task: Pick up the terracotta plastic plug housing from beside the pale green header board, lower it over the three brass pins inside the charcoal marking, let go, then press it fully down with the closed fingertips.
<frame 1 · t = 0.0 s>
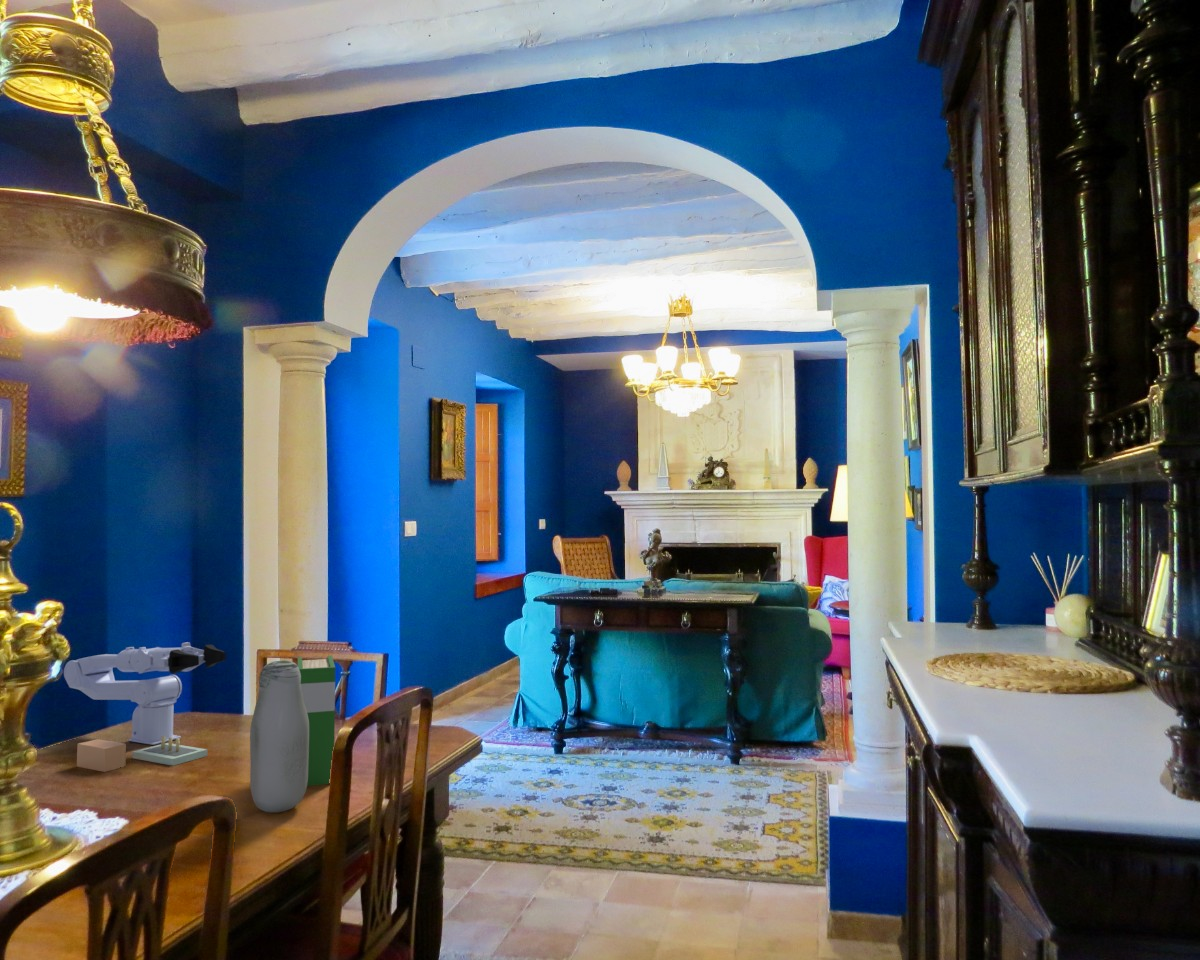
hand: (211, 658, 207), 22 cm above the table, tool horizontal, fingers open, 7 cm apart
header board: (170, 757, 198), on the table
plug housing: (101, 766, 191), on the table
gray bottle: (278, 811, 161), on the table
hardback book: (314, 774, 185), on the table
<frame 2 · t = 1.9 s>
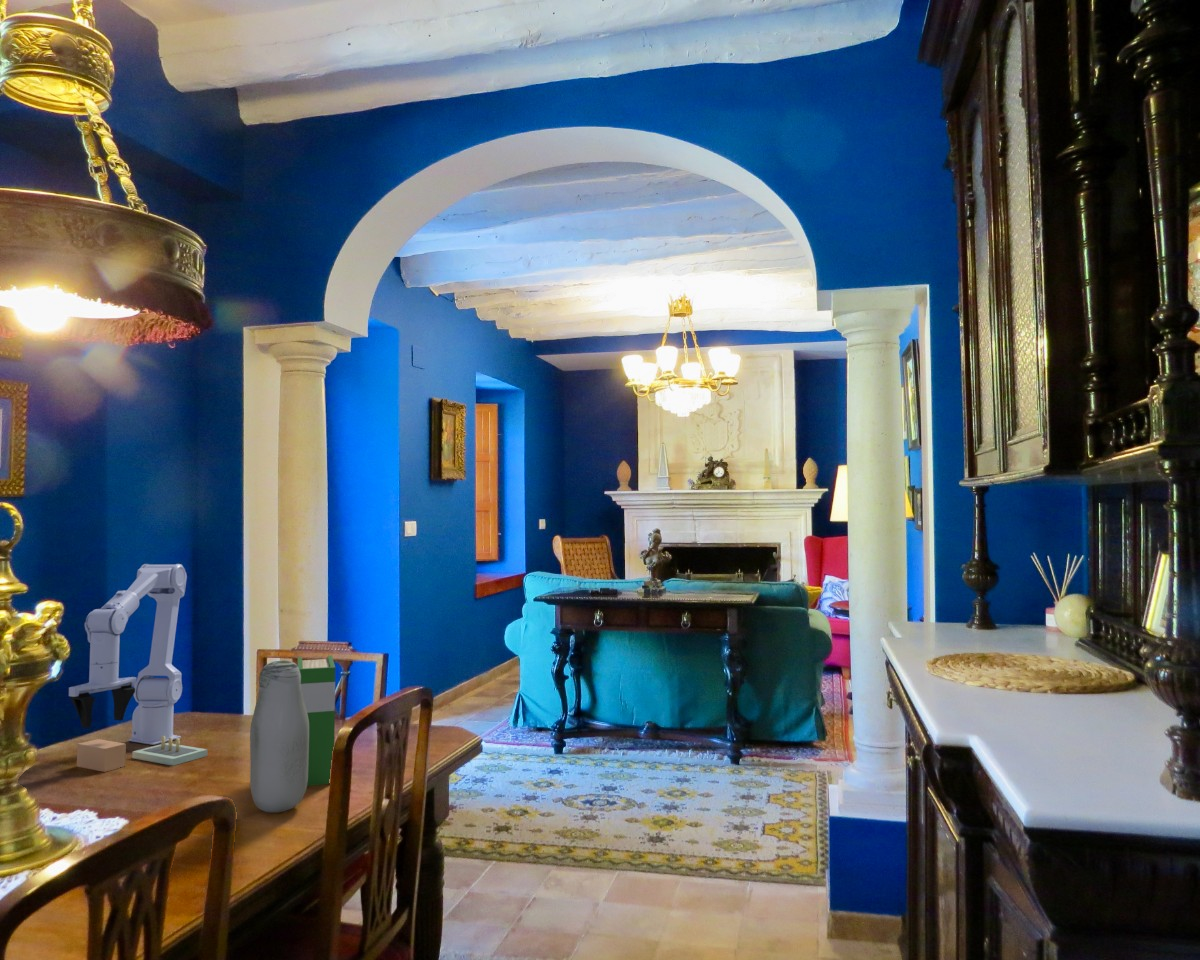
hand: (102, 723, 191), 9 cm above the table, tool pointing down, fingers open, 7 cm apart
nothing on the table moved.
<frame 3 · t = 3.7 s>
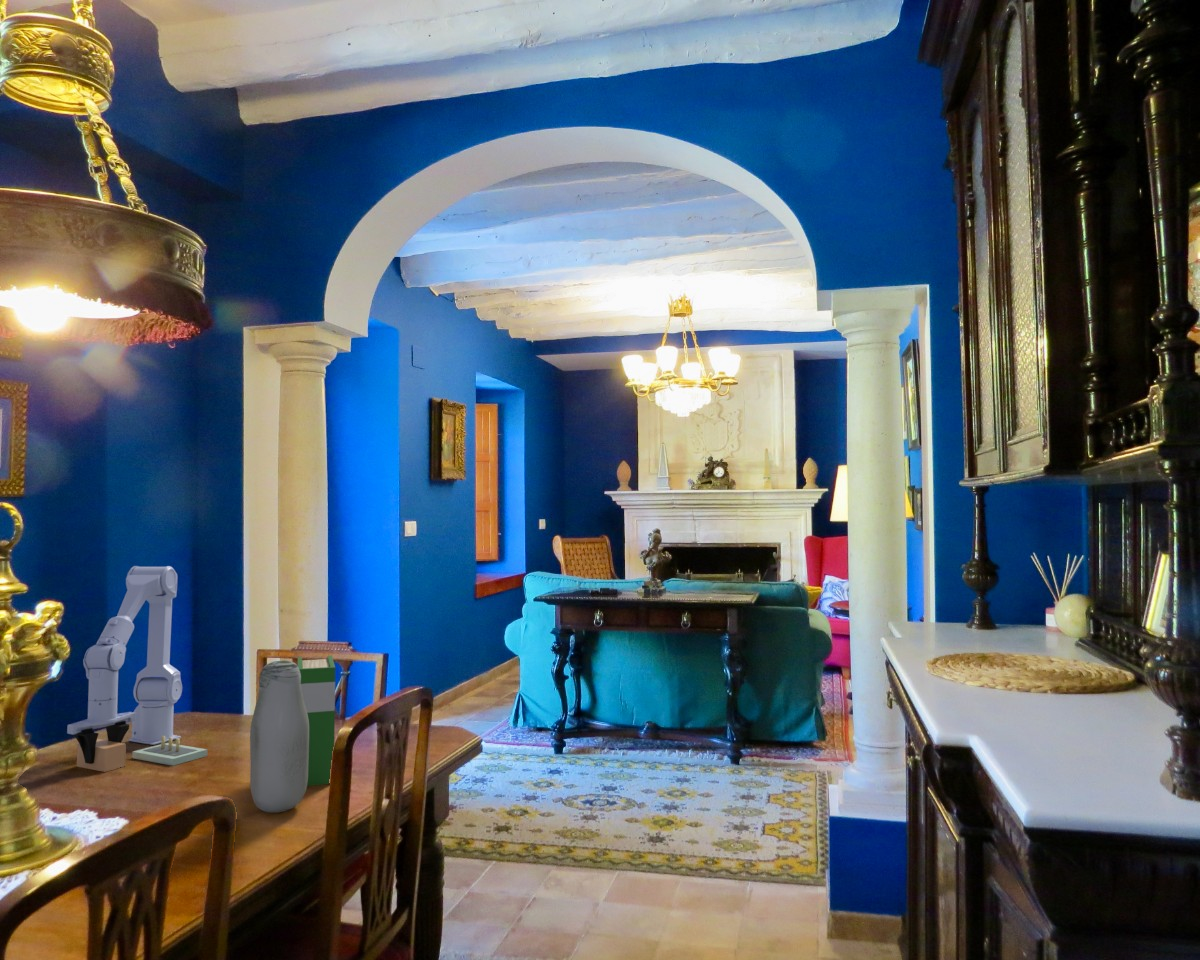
hand: (101, 760, 191), 1 cm above the table, tool pointing down, fingers closed on plug housing, 5 cm apart
plug housing: (101, 766, 191), on the table, touching gripper
everything else where it was.
when the fingers open (4 cm above the table, at t = 7.3 s): plug housing drops 2 cm, resting on header board.
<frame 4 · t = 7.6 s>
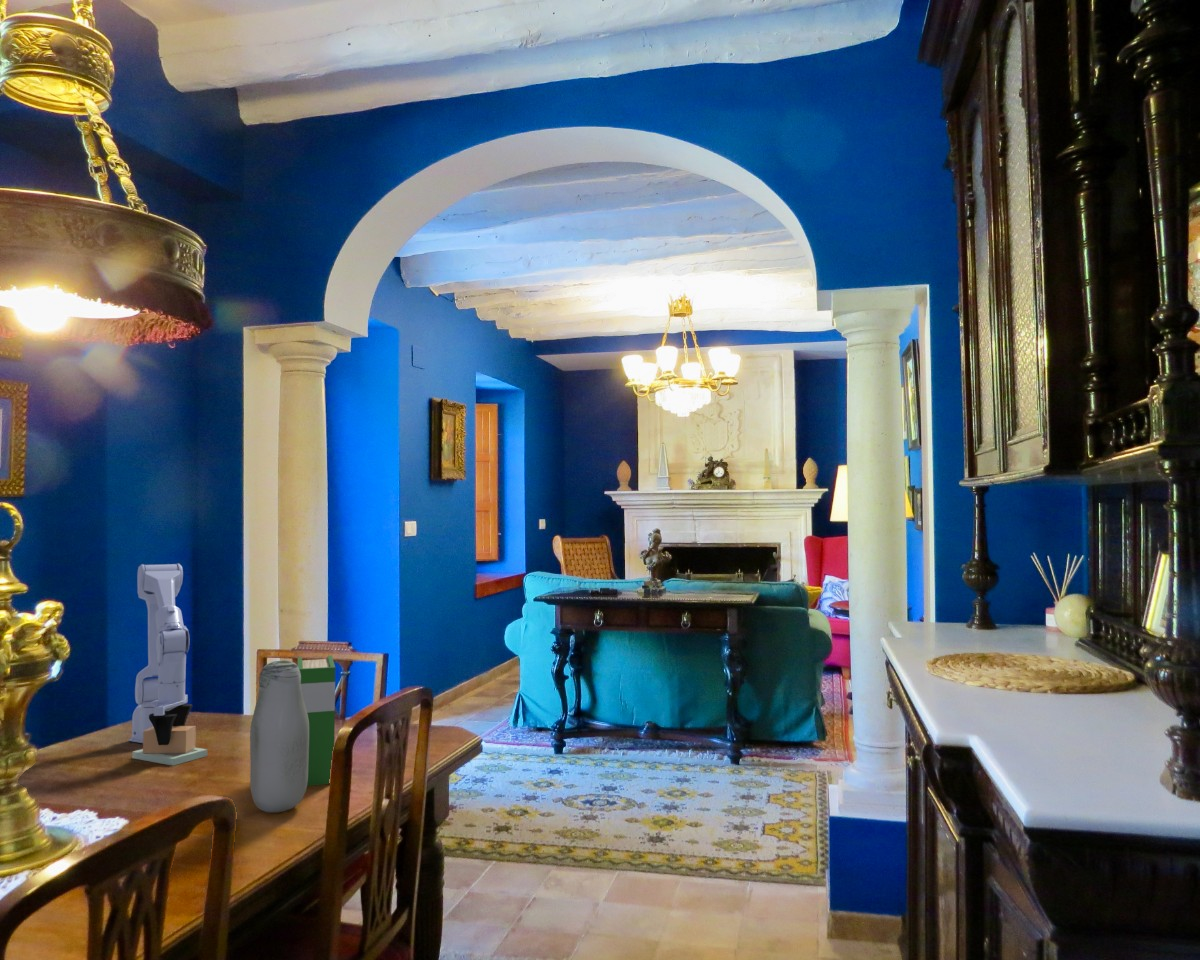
hand: (170, 740, 199), 4 cm above the table, tool pointing down, fingers open, 7 cm apart
plug housing: (169, 750, 198), point 2 cm above the table, touching header board
everything else where it was.
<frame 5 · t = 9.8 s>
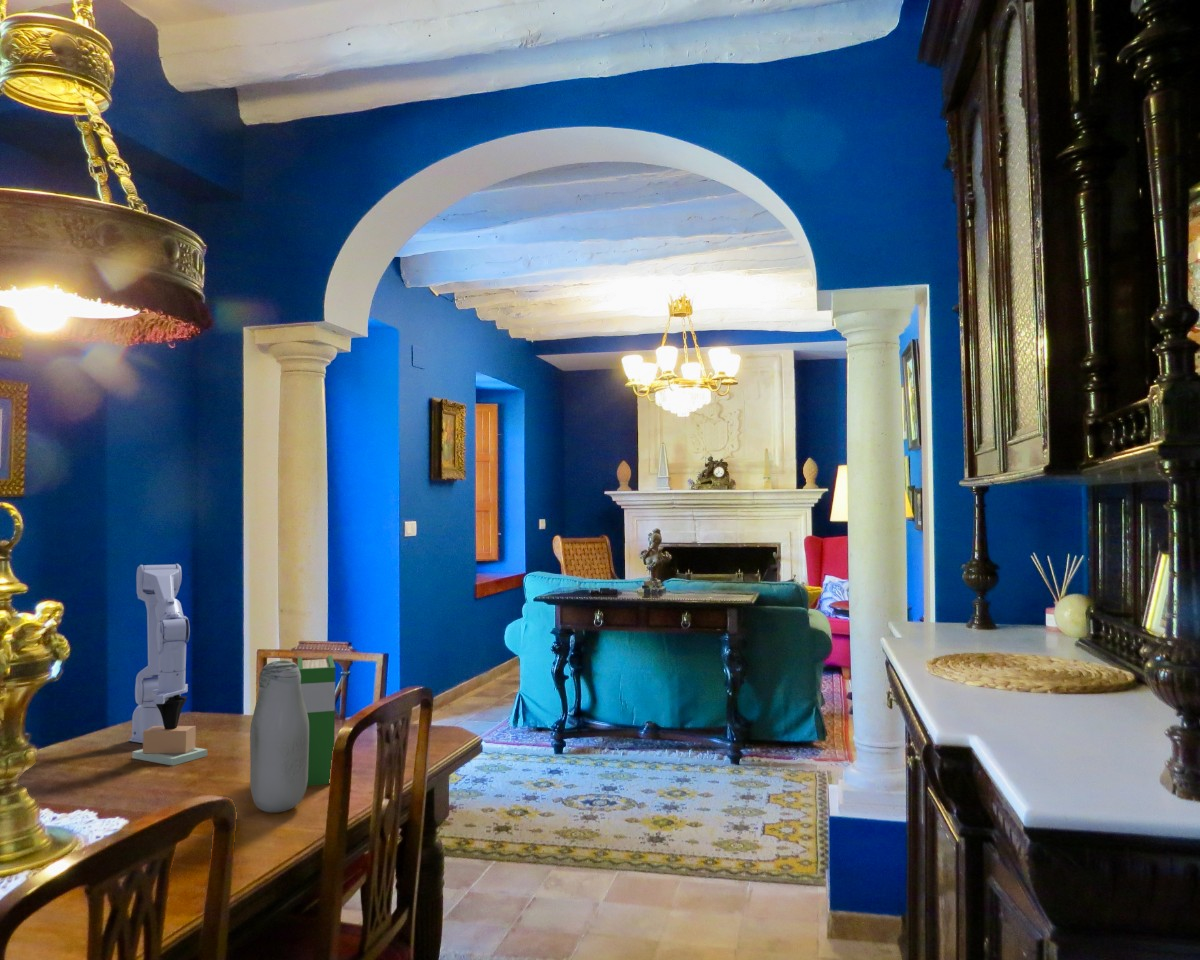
hand: (170, 729, 199), 6 cm above the table, tool pointing down, fingers closed, pressing on plug housing
plug housing: (169, 750, 198), point 2 cm above the table, touching gripper, header board
everything else where it was.
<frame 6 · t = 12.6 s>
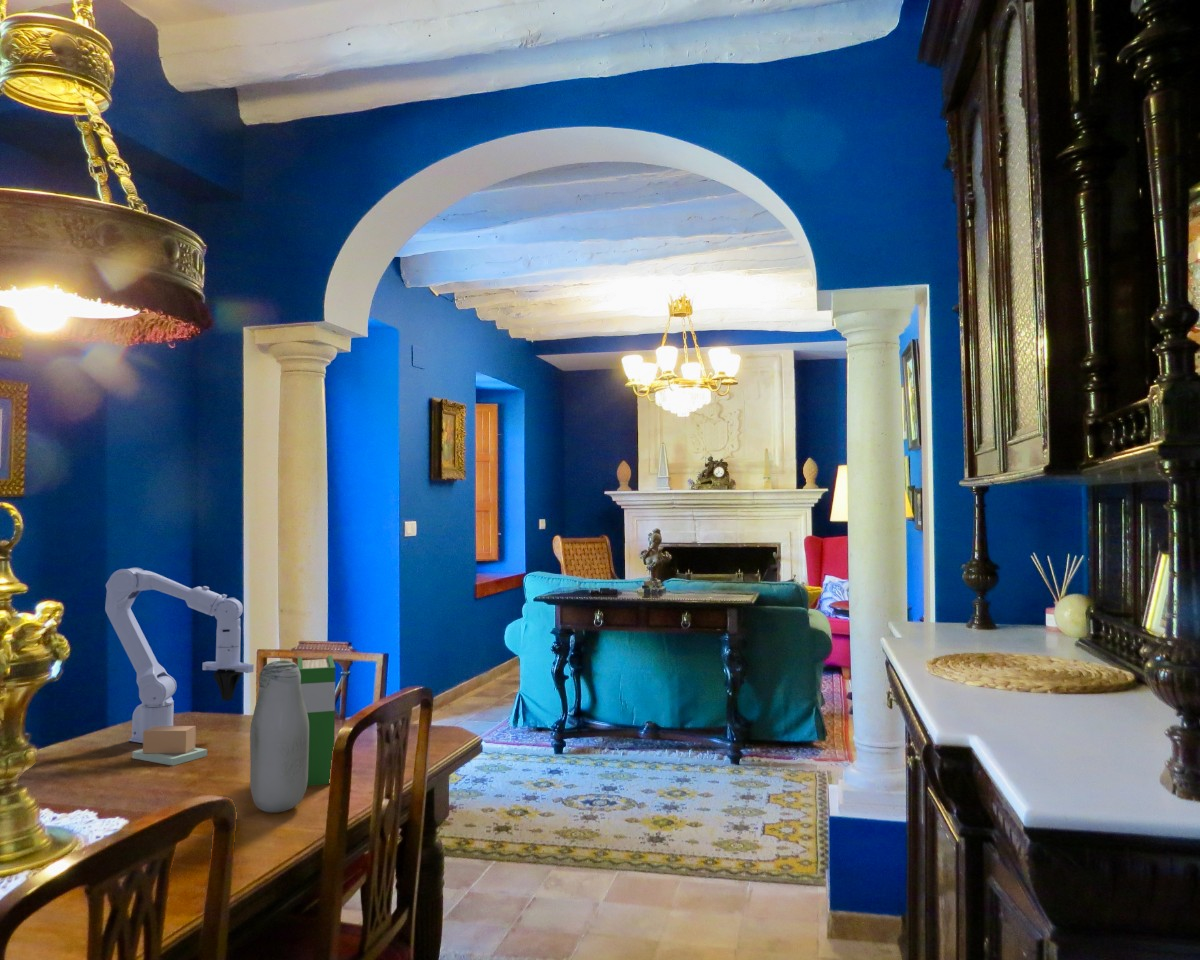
hand: (227, 699, 218), 9 cm above the table, tool pointing down, fingers closed
plug housing: (169, 750, 198), point 2 cm above the table, touching header board
everything else where it was.
at the end: plug housing 0.1 cm off-centre on the header board, point 1.6 cm above the header board's base; plug housing tilted 0°; the gripper is holding nothing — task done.
